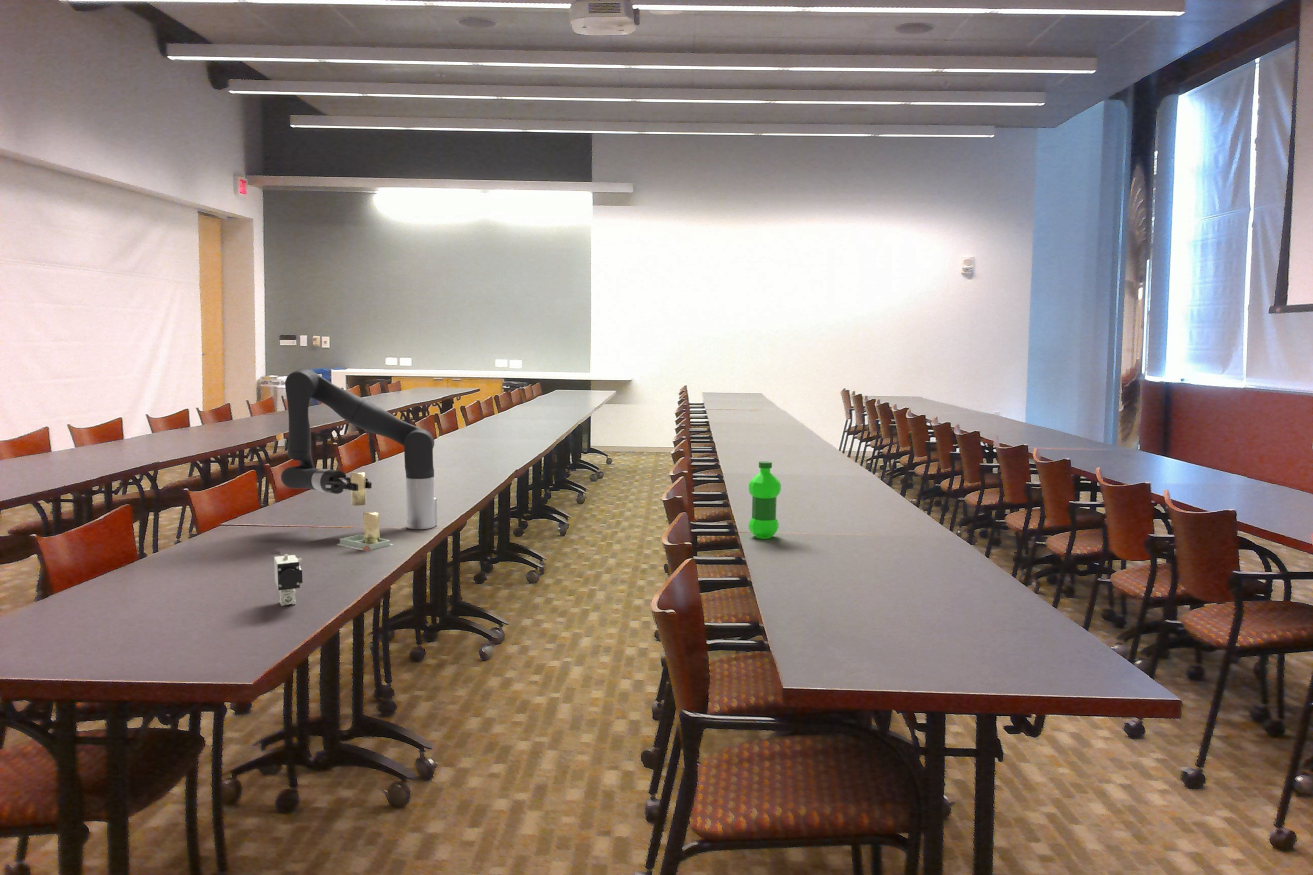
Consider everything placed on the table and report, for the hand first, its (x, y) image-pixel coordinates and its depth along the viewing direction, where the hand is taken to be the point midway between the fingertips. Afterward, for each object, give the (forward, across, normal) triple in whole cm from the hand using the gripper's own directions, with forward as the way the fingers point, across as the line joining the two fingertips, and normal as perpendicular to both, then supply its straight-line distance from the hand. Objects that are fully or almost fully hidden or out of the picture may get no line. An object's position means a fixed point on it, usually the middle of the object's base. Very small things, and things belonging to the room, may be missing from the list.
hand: (363, 486), depth 268 cm
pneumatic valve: (+38, -53, +17) cm, 67 cm away
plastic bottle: (+101, +79, +18) cm, 129 cm away
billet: (-3, 0, +6) cm, 7 cm away
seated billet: (+12, -7, +16) cm, 21 cm away
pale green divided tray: (+9, -7, +18) cm, 21 cm away
